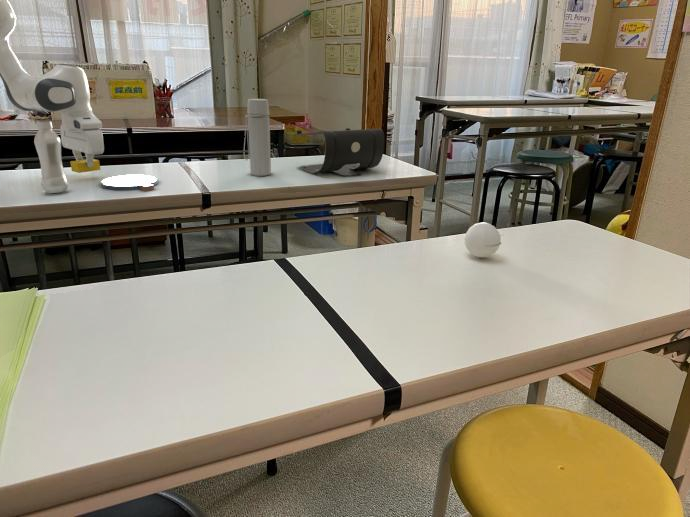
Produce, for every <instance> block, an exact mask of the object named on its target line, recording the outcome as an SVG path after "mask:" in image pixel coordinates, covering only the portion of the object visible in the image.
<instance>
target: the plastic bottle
mask: <svg viewBox="0 0 690 517" xmlns="http://www.w3.org/2000/svg"><path fill="white" fill-rule="evenodd" d="M35 124H36V129H37V130H38V131H37V132H36V134H35V136H34V140H33V143H34V146H35V150H36V153H37V155H38V159H39V165H40V171H41V178H40V179H41V180H40V181H41V182H40V184H41V188H42V190H43V191H44V192H45V193H47V194H48V193H49V194H59V193H63V192H66V191H67V190H68V188H69V182H68V178H67V176H66V173H65V169H64V166H63V157H62V142H61V136H59V135H58V134H57V133H56V132H55V130H53V128H54V126H53V122H52V121H51V120H37V121H35Z"/></svg>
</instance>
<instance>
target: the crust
mask: <svg viewBox="0 0 690 517" xmlns="http://www.w3.org/2000/svg"><path fill="white" fill-rule="evenodd" d="M139 188H140V189H139V191H142V192H149V191H154V190H155V185H152V184H149V183H147V184H141V185H139Z"/></svg>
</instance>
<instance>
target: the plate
mask: <svg viewBox="0 0 690 517" xmlns="http://www.w3.org/2000/svg"><path fill="white" fill-rule="evenodd" d="M147 183H149V184H152V185H154V186H156V185H157V184H158V178H156V177H155V176H151V175H146V174H125V175H117V176H112V177H107V178H104V179H103V180H101V187H102V188H104V189H106V190H112V191H134V190H140V188H139V185H141V184H147Z"/></svg>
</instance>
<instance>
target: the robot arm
mask: <svg viewBox="0 0 690 517" xmlns="http://www.w3.org/2000/svg"><path fill="white" fill-rule="evenodd" d="M16 23H17V17H16V14H15V11H14V9H13V7H12V5H11V3H10V1H9V0H0V79H1V82H2V83H3V87H4V90H5V92H6V96H7V99H8V100H9V101H10V103H11V104H12V105H13V106H14V107H16V109H19V110H21V111H26V112H33V111H34V112H35V111H38V112H48V113H49V112H50V113H55V112H58V111H59V112H60V118H61V124H60V128H59V130H60V132H59V133H60V140H61V146H62V147H63V148H65V149H68V150H72V154H73V156H74V158H75V161H78V160H85V159H86V161H85V164H86V166H87V167H93V159H95V156H96V155H97V156H98V155H103V153H104V152H105V144H104V136H103V132H102V128H103V123H102V120H100V119H99V118H98V117H97V116H96V115H95V114H94V113H93V108H92V106H91V102H90V100H91V92H90V87H89V81H88V78H87V75H86V73H85V70H84V69H83V68H81V67H80V66H77V65H74V64H67V63H57V64H55V65H54V67H53V68H52V69H51V70H49V71H48V72H46V73H44V74H41V75H40V76H35V75H31V74H30V73H28V72H27V71H25V69H24V68H23V67H22V65H21V63H20V61H19V60H18V58H17V56H16V55H15V52H13V50H12V48H11V46H10V44H9V36H10V35H11V34H12V33H13V31H14V30H15V27H16ZM82 153H84V155H85V159H84V158H83V156H82Z"/></svg>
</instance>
